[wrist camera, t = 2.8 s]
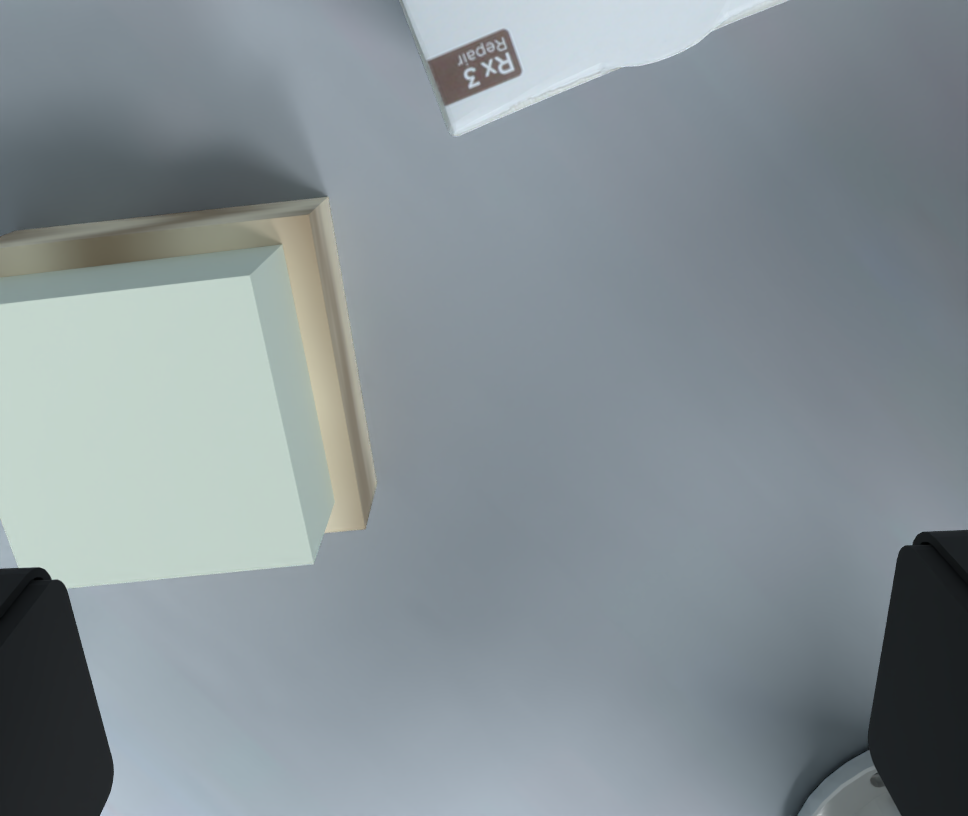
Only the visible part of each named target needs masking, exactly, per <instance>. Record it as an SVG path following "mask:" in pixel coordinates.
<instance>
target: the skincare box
mask: <svg viewBox="0 0 968 816" xmlns="http://www.w3.org/2000/svg"><path fill="white" fill-rule="evenodd" d="M399 1H400V4H401V7H402V9H403V12H404V15H405V17H406V20H407V23H408V25H409V28H410V31H411V33H412V36H413V39H414V41H415V44H416V47H417V49H418V52H419V55H420V57H421V60H422V62H423V65H424V68H425V70H426V73H427V76H428V78H429V81H430V84H431V86H432V89H433V92H434V94H435V97H436V100H437V102H438V105H439V108H440V111H441V113H442V116H443V119H444V122H445V124H446V127H447V129H448V131H449V134H451V135H452V136H454V137H459V136H461V135H463V134H465V133H468V132H470V131H472V130H474V129H477V128H479V127H481V126H483V125H486V124H488V123H491V122H493V121H495V120H498V119H500V118H502V117H505V116H507V115H509V114H512V113H514V112H517V111H519V110H521V109H524V108H526V107H528V106H531V105H533V104H535V103H538V102H540V101H542V100H545V99H547V98H550V97H552V96H554V95H557V94H559V93H561V92H564V91H566V90H569V89H571V88H574V87H576V86H578V85H581V84H583V83H586V82H588V81H591V80H593V79H595V78H598V77H600V76H603V75H605V74H608V73H610V72H613V71H615V70H617V69H620V68H622V67H627V66H642V65H646V64H650V63H655V62H658V61H661V60H663V59H666V58H669V57H672V56H674V55H676V54H679V53H681V52H683V51H685V50H686V49H688V48H690V47H692V46H694V45H695V44H697V43H699V42H700V41H701V40H702V39H703V38H704V37H706V36H707V35H708V34H709V33H710V32H712V31H714V30H716V29H719V28H721V27H724V26H726V25H728V24H731V23H733V22H736V21H738V20H741V19H743V18H746V17H748V16H751V15H753V14H756V13H758V12H761V11H763V10H766V9H769V8H771V7H774V6H776V5H779V4H781V3H784V2H786V1H789V0H399Z"/></svg>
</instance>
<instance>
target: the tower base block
mask: <svg viewBox="0 0 968 816" xmlns="http://www.w3.org/2000/svg"><path fill="white" fill-rule="evenodd" d="M281 244H282V245H283V250H284V255H285V260H286V264H287V269H288V274H289V279H290V284H291V289H292V294H293V299H294V304H295V308H296V313H297V318H298V323H299V328H300V333H301V338H302V343H303V348H304V352H305V357H306V362H307V367H308V372H309V377H310V382H311V387H312V391H313V396H314V401H315V406H316V411H317V416H318V421H319V426H320V431H321V435H322V440H323V445H324V450H325V455H326V460H327V465H328V470H329V475H330V479H331V484H332V489H333V494H334V499H335V503H334V506H333V509H332V512H331V515H330V518H329V521H328V524H327V527H326V530H325V533H330V532H341V531H352V530H363V529H366V525H367V521H368V517H369V513H370V509H371V505H372V501H373V497H374V493H375V490H376V486H377V481H376V475H375V469H374V463H373V457H372V451H371V445H370V440H369V434H368V428H367V422H366V416H365V410H364V404H363V398H362V392H361V387H360V381H359V375H358V369H357V363H356V357H355V351H354V345H353V339H352V334H351V328H350V322H349V316H348V310H347V304H346V298H345V292H344V287H343V281H342V275H341V269H340V263H339V257H338V251H337V245H336V239H335V234H334V228H333V222H332V216H331V210H330V204H329V198H328V197H320V198H311V199H302V200H292V201H283V202H274V203H265V204H256V205H247V206H237V207H228V208H219V209H210V210H201V211H192V212H183V213H173V214H164V215H155V216H146V217H137V218H128V219H118V220H109V221H100V222H91V223H82V224H73V225H63V226H54V227H45V228H36V229H27V230H18V231H13V232H11V233H8V234H6V235H3V236H0V277H9V276H17V275H26V274H34V273H43V272H51V271H60V270H68V269H77V268H85V267H94V266H102V265H111V264H119V263H128V262H136V261H145V260H153V259H162V258H170V257H179V256H187V255H196V254H204V253H213V252H221V251H230V250H238V249H247V248H255V247H264V246H272V245H281Z"/></svg>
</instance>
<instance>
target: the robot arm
mask: <svg viewBox="0 0 968 816" xmlns="http://www.w3.org/2000/svg"><path fill="white" fill-rule="evenodd" d="M868 744H869V750H868V751H866V752H864V753H862V754H861V755H859V756H857V757H855V758H853V759H852V760H850V761H848V762H846V763H845V764H844V765H842V766H841V767H840V768H839V769H837V770H836V771H835V772H833V773H832V774H831V775H830V776H828V777H827V778H826V779H825V780H824V781H823V782H822V783H821V784H820V785H819V786H818V787H817V788H816V789H815V791H814V792H813V793H812V794H811V795H810V796H809V797H808V799H807V801H806V802H805V804H804V805H803V807H802V809H801V810H800V812H799V814H798V815H797V816H968V530H957V531H932V532H922V533H920V534H918V535H917V536H916V538H915V539H914V541H913V545H907V546H904V547H902V548H901V550H900V551H899V554H898V558H897V563H896V569H895V575H894V581H893V587H892V593H891V599H890V605H889V611H888V617H887V622H886V628H885V634H884V640H883V646H882V652H881V658H880V664H879V670H878V676H877V682H876V688H875V694H874V700H873V706H872V712H871V718H870V724H869V730H868ZM113 775H114V767H113V760H112V756H111V752H110V748H109V745H108V741H107V737H106V733H105V730H104V726H103V722H102V718H101V715H100V711H99V707H98V704H97V700H96V696H95V692H94V689H93V685H92V681H91V677H90V674H89V670H88V666H87V662H86V659H85V655H84V651H83V648H82V644H81V640H80V636H79V633H78V629H77V625H76V621H75V618H74V614H73V610H72V607H71V603H70V599H69V595H68V592H67V589H66V587H65V585H64V583H63V582H62V581H60V580H58V579H55V580H52V579H51V576H50V575H49V573H48V572H47V571H46V570H45V569H43V568H40V567H31V568H6V569H0V816H100V814H101V812H102V810H103V808H104V805H105V803H106V801H107V799H108V797H109V794H110V791H111V787H112V783H113Z"/></svg>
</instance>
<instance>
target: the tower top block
mask: <svg viewBox="0 0 968 816" xmlns="http://www.w3.org/2000/svg"><path fill="white" fill-rule="evenodd" d="M334 503H335V499H334V494H333V489H332V484H331V479H330V475H329V470H328V465H327V460H326V455H325V450H324V445H323V440H322V435H321V431H320V426H319V421H318V416H317V411H316V406H315V401H314V396H313V391H312V387H311V382H310V377H309V372H308V367H307V362H306V357H305V352H304V348H303V343H302V338H301V333H300V328H299V323H298V318H297V313H296V308H295V304H294V299H293V294H292V289H291V284H290V279H289V274H288V269H287V264H286V260H285V255H284V250H283V245H282V244H281V245H272V246H264V247H255V248H247V249H238V250H230V251H221V252H213V253H204V254H196V255H187V256H179V257H170V258H162V259H153V260H145V261H136V262H128V263H119V264H111V265H102V266H94V267H85V268H77V269H68V270H60V271H51V272H43V273H34V274H26V275H17V276H9V277H0V519H1V522H2V525H3V527H4V530H5V533H6V536H7V538H8V541H9V544H10V546H11V549H12V552H13V555H14V557H15V560H16V563H17V565H18V568H31V567H40V568H43V569H45V570H46V571H47V572H48V573H49V575H50V576H51V579H52V580H55V579H58V580H60V581H62V582H63V583H64V585H65V587H66V589H68V588H78V587H88V586H98V585H108V584H118V583H128V582H139V581H149V580H159V579H169V578H179V577H189V576H199V575H209V574H219V573H229V572H239V571H249V570H259V569H269V568H279V567H290V566H300V565H310V564H314V562H315V559H316V556H317V553H318V550H319V547H320V544H321V541H322V538H323V536H324V533H325V530H326V527H327V524H328V521H329V518H330V515H331V512H332V509H333V506H334Z"/></svg>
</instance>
